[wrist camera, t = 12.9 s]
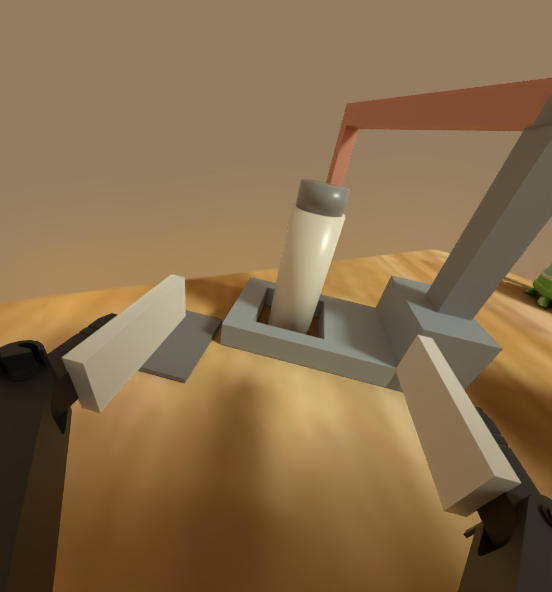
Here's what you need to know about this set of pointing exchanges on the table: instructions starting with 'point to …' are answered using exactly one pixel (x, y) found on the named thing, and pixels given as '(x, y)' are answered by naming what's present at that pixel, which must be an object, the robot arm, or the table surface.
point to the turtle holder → (543, 287)
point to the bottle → (307, 253)
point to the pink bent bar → (446, 114)
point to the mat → (182, 347)
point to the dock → (418, 290)
